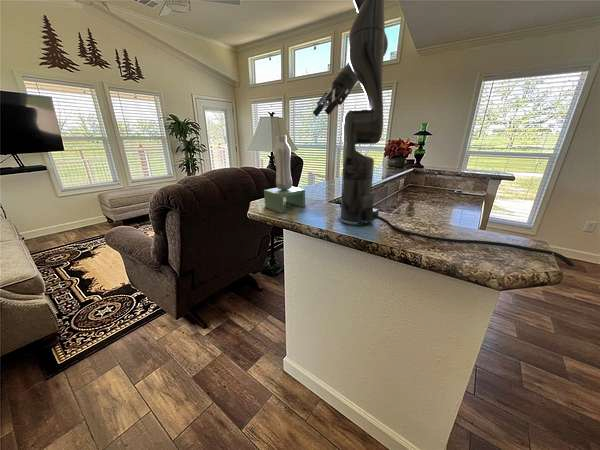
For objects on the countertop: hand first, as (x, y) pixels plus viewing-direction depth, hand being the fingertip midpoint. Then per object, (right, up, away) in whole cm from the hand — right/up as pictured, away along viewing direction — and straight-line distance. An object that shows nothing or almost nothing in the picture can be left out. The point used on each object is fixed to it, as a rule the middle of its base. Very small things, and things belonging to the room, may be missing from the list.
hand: (320, 113), depth 88 cm
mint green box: (-14, -34, +7) cm, 38 cm away
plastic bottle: (-14, -28, +4) cm, 32 cm away
